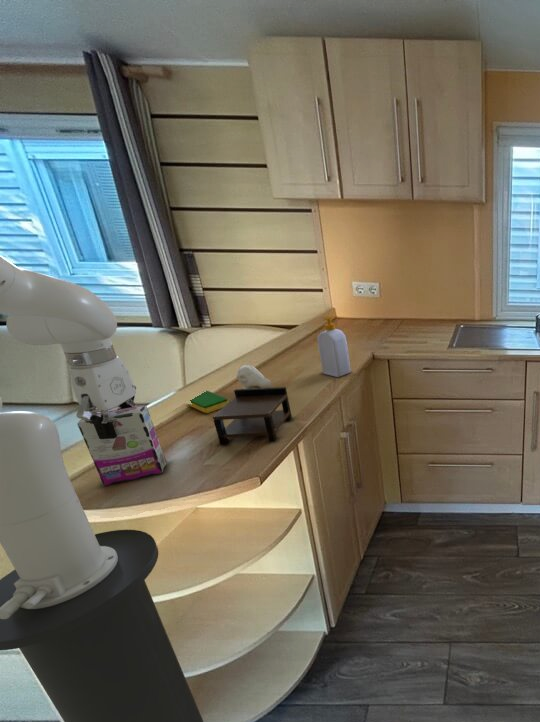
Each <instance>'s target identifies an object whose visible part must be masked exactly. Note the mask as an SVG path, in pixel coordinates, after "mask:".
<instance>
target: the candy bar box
mask: <svg viewBox="0 0 540 722" xmlns="http://www.w3.org/2000/svg"><path fill="white" fill-rule="evenodd" d="M97 416H99V417H101V412H97ZM108 421H111V422H112V424H113V427H114V429H115V432H116V435H117V437H116V438H114V439H99V437H98V434H97V432H96V429H95V427H94V424H90V423H89V422H87V421H85V420H83V419H80V420H79V421H78V422H77V423H76V424H77V428H78V429H79V432H80V434H81V436H82V438H83V440H84V444H85V446H86V448H87V450H88V453H89V455H90V457H91V459H92V461H93V464H94V466H95V468H96V471H97V474H98V476H99V479H100V480H101V482H102V483H101V484H102V485H103V486H110V485H114V484H119V483H124V482H128V481H133V480H137V479H142V478H146V477H151V476H155V475H158V474H163V472H164V471H165V468H166V467H167V465H168V462H167V460H166V457H165V454H164V451H163V448H162V445H161V443H160V440H159V437H158V434H157V432H156V429H155V425H154V423H153V420H152V418H151V415H150V411H149V409H148V406H147V404H144V405H138V406H134V407H131V408H125V409H119V410H117V409H112V410H108Z"/></svg>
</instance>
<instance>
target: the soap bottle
mask: <svg viewBox="0 0 540 722" xmlns="http://www.w3.org/2000/svg"><path fill="white" fill-rule="evenodd" d="M332 318H338V315H327V316H325V317H323V320H325V321H326V322H327V323H324V330H323V331H321V332H320V333H318V334H317V345H318V351H319V352H318V353H319V357H320V364H321V370H322V374H324V375H327V376H331V377H335V378H339V377H342V376H345V375H347V374H350V373H351V371H352V370H351V364H350V356H349V349H348V343H347V342H348V341H347V338H346V337H347V336H346V335H345V333H344V332H343V331H342V330H341V329H339V328H336V324H335V323H334V322H333V323H332Z"/></svg>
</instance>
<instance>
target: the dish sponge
mask: <svg viewBox="0 0 540 722" xmlns="http://www.w3.org/2000/svg"><path fill="white" fill-rule="evenodd" d="M205 391H206V392H204V391H203V392H204V393H202V394H201V395H199V396H197V397H195V398H194V399H192V400H190V401H191V403H192V405H191V404H188V405H187V406H189V407H191V408H193V409H195V410H198V411H200V412H202V413H205V414H209V413H212V412H214V411H217V410H221V409H222V408H224V407H225V406H226V405H227V404H228V403H229V402H230V401H229V399H228V398H226V397H224V396H221V395H220V394H217V393H214V392H212V391H210V390H205Z"/></svg>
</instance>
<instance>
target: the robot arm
mask: <svg viewBox="0 0 540 722" xmlns="http://www.w3.org/2000/svg"><path fill="white" fill-rule="evenodd" d="M0 314H1V315H3V314H4V315H7V319H6V323H5V324H6V325H5V326H6V329H7V332H8V334H10V336H11V337H12V338H13V339H14V340H16V341H18V342H20V343H22V344H25V345H31V346H49V345H50V346H51V345H59V344H60V347H61V349H62V351H63V353H64V356H65V358H66V363H67V364H68V366H69V375H70V380H71V384H72V389H73V392H74V396H75V397H76V400H77V403H78V405H79V407H78V409H77V412H76V418H78V419H80V420H81V419H83V420H85V421H87V422H89V423H90V424H94V427H95V429H96V432H97V434H98V437H99V439H114V438H116V437H117V435H116V432H115V429H114V427H113V424H112V422H111V421H108V411H112V410H114V409H115V408H117V407H118V408H117V409H116V410H119V409H125V408H131V407H136V403H135V402H134V401H135V397H136V394H137V386H136V385H135V384H134V382H133V379H132V377H131V375H130V373H129V370H128V369H127V367H126V365H125V363H124V361H123V360H122V358H121V357H120V356H119V355H117V353H116V350H115V347H114V344H113V341H112V338H111V337H113V336H114V334H115V333H116V332H117V329H118V321H117V317H116V315H115V313H114V312H113V310H112V308H110V307H109V305H108V304H107V303H106V302H104V300H103V299H101V298H100V297H99V296H97V295H96V294H95V293H94V292H92V291H91V290H89V289H88V288H86V287H84V286H82V285H79V284H77V283H74V282H71V281H68V280H65V279H61V278H58V277H55V276H52V275H48V274H46V273H41V272H38V271H34V270H31V269H26V268H22V267H19V266H16V264H14V263H12V262H11V261H9V260H8V259H7V258H5V257H4V256H2V254H0ZM2 410H3V400H2V396H1V395H0V545H1V547H2V549H3V550H4V552H5V554H6V556H7V558H8V560H9V561H10V563H11V565H12V567H13V568H14V570H16V572H17V574H18V575H19V577H20V579H19V580H18V581H16V582H15V583H14V585H15V587H16V591H15V592H14V594H13V598H11V599H10V600H9V601H7V602H6V603H5V604H4V605H3V606H1V607H0V619H7V618H9V617H10V616H11V615H12V614H13V613H15V612H16V611H17V610H18V609H19V608H20V607H21V608H25V609H39V608H45V607H49V606H53V605H56V604H59V603H62V602H65V601H67V600H70V599H72V598H74V597H76V596H78V595H80V594H82V593H84V592H86V591H87V590H89V589H91V588H92V587H94V586H95V585H97V584H98V583H99V582H101V581H102V580H103V579H104V578H105V577H107V576H108V575H109V573H110V572H111V571H112V570H113V569H114V567H115V566H116V564H117V561H118V556H117V553H116V551H115V550H114V549H113V548H111V547H106V546H100V545H99V543H98V541H97V539H96V537H95V534H96V533H94V531H93V528H92V526H91V524H90V521H89V518H88V517H87V515H86V513H85V512H86V511H85V510H84V508H83V506H82V503H81V501H80V499H79V496H78V494H77V493H76V489H75V488H74V485H73V483H72V481H71V478H70V476H69V474H68V471H67V468H66V466H65V462H64V458H63V453H62V446H61V440H60V434H59V430H58V428H57V425H56V424H55V422H54V421H53V420H52V419H51V418H49V417H48V416H46V415H44V414H41V413H38V412H33V411H21V410H19V411H3V412H2ZM100 412H101V417H99V416H97V413H100Z"/></svg>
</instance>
